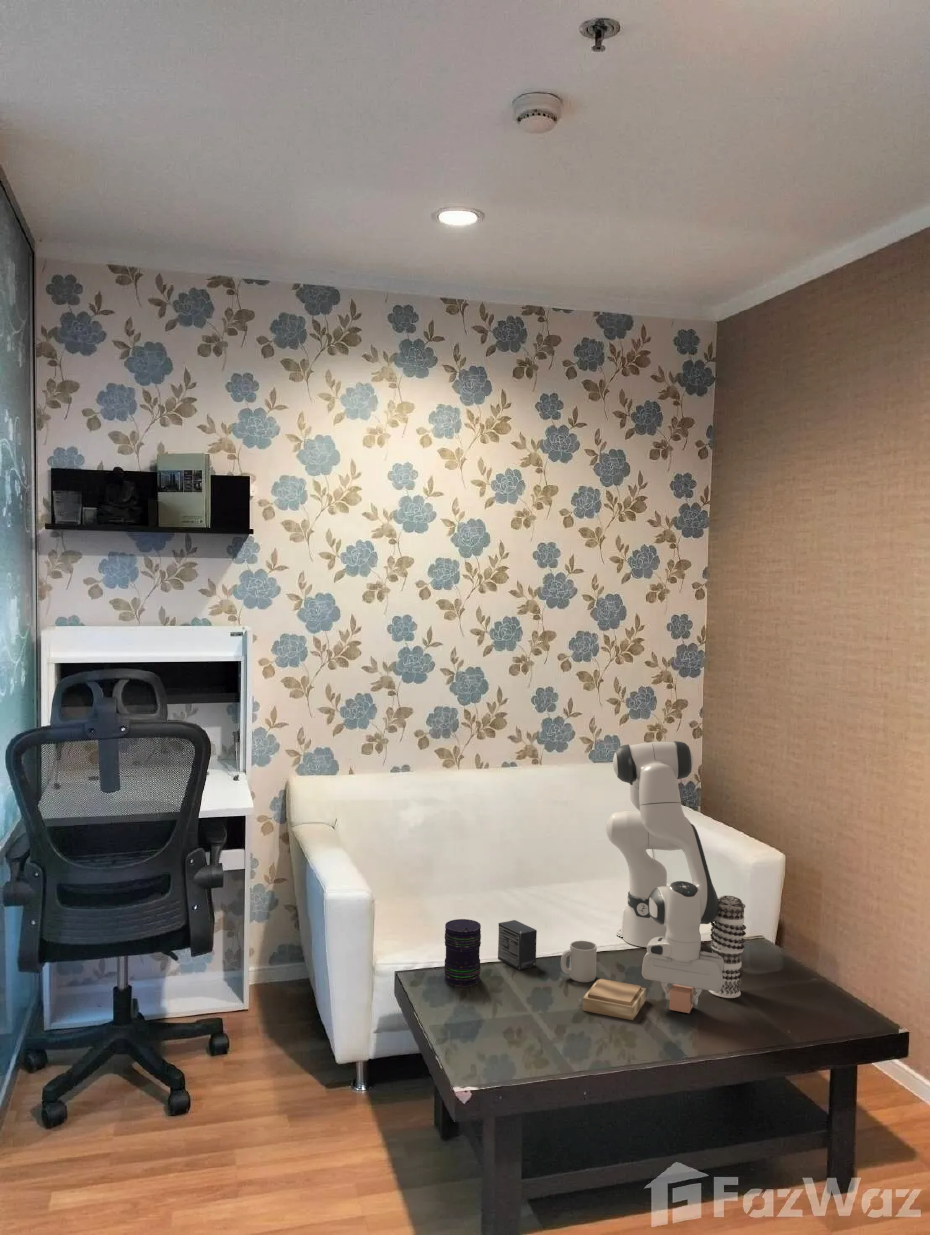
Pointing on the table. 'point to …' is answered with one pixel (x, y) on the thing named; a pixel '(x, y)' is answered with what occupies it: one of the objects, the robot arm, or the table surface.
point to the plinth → (614, 999)
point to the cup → (580, 961)
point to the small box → (517, 944)
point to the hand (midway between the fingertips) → (681, 1001)
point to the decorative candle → (729, 943)
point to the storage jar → (462, 952)
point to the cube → (681, 998)
